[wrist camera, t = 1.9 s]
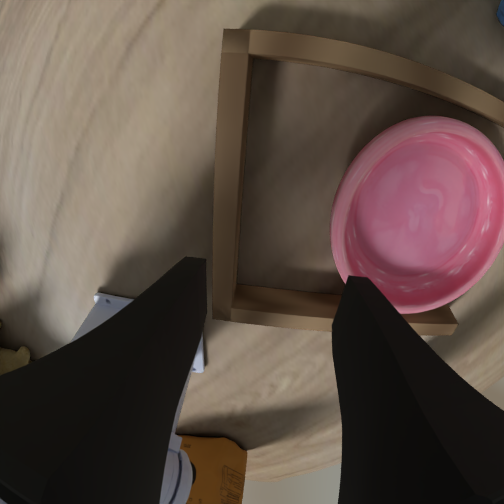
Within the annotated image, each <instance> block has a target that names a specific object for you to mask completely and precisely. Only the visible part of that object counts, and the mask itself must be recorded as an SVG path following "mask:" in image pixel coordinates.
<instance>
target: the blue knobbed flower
mask: <svg viewBox="0 0 504 504" xmlns="http://www.w3.org/2000/svg"><path fill="white" fill-rule="evenodd" d="M496 15H497V17H498V20H499V21H500V23H501V24H502V25H503V26H504V0H501V2H500V5H499V8H498V11H497V13H496Z"/></svg>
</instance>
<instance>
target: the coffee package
mask: <svg viewBox="0 0 504 504" xmlns="http://www.w3.org/2000/svg"><path fill="white" fill-rule="evenodd" d="M178 436H180V437H182V441H181V445H180V449H182V450H184V451H185V452H186V453H187V455H188V457H189V461H190V463H191V466H192V472H193V478H192V486H191V490H190V494H189V497H188V499H187V502H186V504H242V498H243V490H244V482H245V472H246V463H247V451H246V450H242V449H241V448H240V447H239V446H238V445H237V444H236V443H235V442H233V441H231V440H228V439H227V438H223V437H222V438H211V437H196V436H188V435H178Z"/></svg>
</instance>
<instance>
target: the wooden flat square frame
mask: <svg viewBox="0 0 504 504" xmlns="http://www.w3.org/2000/svg"><path fill="white" fill-rule="evenodd" d="M253 59H265V60H276V61H286V62H294V63H301V64H308V65H315V66H321V67H327V68H332V69H337V70H343V71H347V72H352V73H356V74H361V75H365V76H369V77H373V78H377V79H381V80H384V81H388V82H392V83H395V84H398V85H402V86H405V87H408V88H411V89H414V90H417V91H420V92H423V93H426V94H429V95H432V96H434V97H437V98H440V99H442V100H445V101H447V102H450V103H452V104H455V105H457V106H460V107H462V108H464V109H467V110H469V111H471V112H473V113H476V114H478V115H480V116H482V117H484V118H486V119H488V120H490V121H492V122H494V123H496V124H498V125H500V126H502V127H504V102H503V101H501V100H499V99H497V98H496V97H494V96H492V95H490V94H488V93H486V92H484V91H482V90H481V89H479V88H477V87H475V86H473V85H470V84H468V83H466V82H464V81H462V80H460V79H458V78H455V77H453V76H451V75H449V74H446V73H444V72H441V71H439V70H436V69H434V68H431V67H429V66H426V65H423V64H421V63H418V62H415V61H412V60H409V59H406V58H403V57H400V56H397V55H394V54H391V53H387V52H384V51H380V50H377V49H373V48H369V47H365V46H361V45H357V44H353V43H348V42H344V41H339V40H334V39H328V38H323V37H317V36H310V35H304V34H296V33H288V32H278V31H266V30H250V29H224V30H223V41H222V53H221V65H220V79H219V93H218V109H217V127H216V147H215V171H214V202H213V258H212V310H213V319H216V320H223V321H231V322H239V323H247V324H255V325H264V326H273V327H283V328H293V329H304V330H316V331H329V332H332V323H333V320H334V317H335V314H336V311H337V308H338V306H339V303H340V300H341V297H342V295H334V294H323V293H313V292H304V291H294V290H285V289H276V288H267V287H258V286H250V285H241V284H237V269H238V253H239V238H240V223H241V209H242V195H243V181H244V168H245V155H246V142H247V129H248V117H249V104H250V92H251V81H252V69H253ZM400 314H401V313H400ZM401 315H402V317H403V318H404V319H405V320H406V321H407V322H408V323H409V325H410V326H411V327H412V328H413V329H414V330H415V331H416V332H417V334H418V335H452V334H453V332H454V331H455V329H456V327H457V326H458V322H457V321H456V319H455V317H454V315H453V313H452V311H451V309H450V308H449V306H448V304H445V305H443V306H440V307H438V308H435V309H432V310H428V311H424V312H419V313H409V314H401Z"/></svg>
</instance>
